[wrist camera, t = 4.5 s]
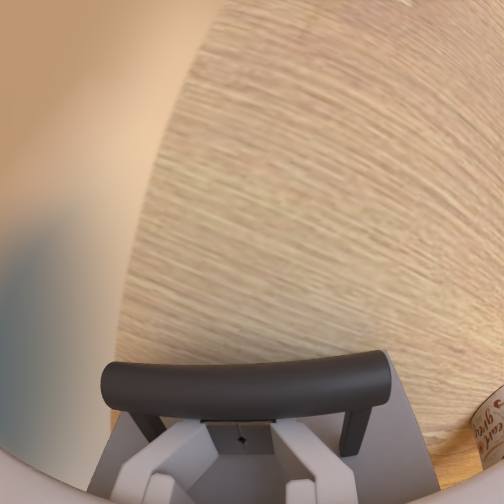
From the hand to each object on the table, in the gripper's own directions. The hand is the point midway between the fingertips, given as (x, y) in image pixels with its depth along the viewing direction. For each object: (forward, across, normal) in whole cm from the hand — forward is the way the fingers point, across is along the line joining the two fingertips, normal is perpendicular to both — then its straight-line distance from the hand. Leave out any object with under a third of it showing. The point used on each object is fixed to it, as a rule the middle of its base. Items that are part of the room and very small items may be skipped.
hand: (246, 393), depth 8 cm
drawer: (+4, 0, +7) cm, 8 cm away
